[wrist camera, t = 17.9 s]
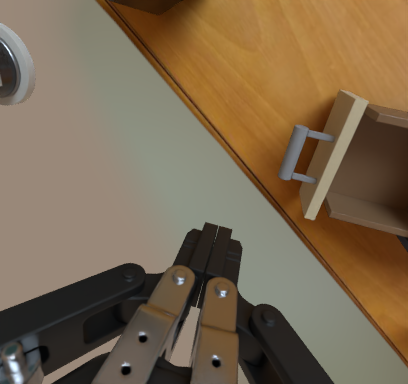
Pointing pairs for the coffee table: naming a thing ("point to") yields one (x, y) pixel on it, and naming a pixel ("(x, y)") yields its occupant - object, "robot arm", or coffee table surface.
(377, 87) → the coffee table surface
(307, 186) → the drawer
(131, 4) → the stand
